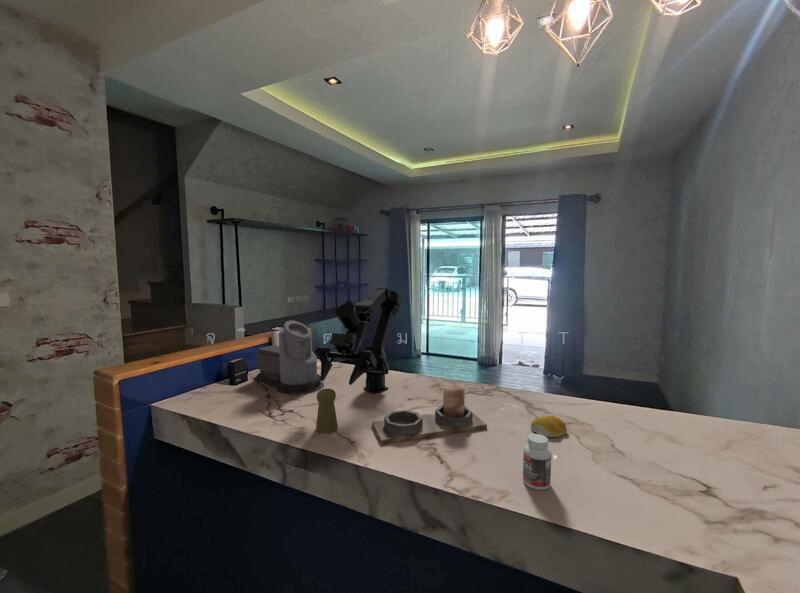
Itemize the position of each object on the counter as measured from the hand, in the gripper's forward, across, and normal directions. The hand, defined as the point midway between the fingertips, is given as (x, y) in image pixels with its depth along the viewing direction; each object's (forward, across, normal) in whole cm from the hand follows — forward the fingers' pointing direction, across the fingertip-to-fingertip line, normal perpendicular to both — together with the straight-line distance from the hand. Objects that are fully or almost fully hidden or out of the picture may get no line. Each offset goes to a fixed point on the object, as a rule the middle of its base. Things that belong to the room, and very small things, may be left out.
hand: (335, 382), depth 103 cm
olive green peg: (+12, 0, +5) cm, 13 cm away
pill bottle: (+16, +54, 0) cm, 57 cm away
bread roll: (-2, +58, +18) cm, 60 cm away
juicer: (-8, -34, +24) cm, 42 cm away
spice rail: (+4, +26, +12) cm, 29 cm away
